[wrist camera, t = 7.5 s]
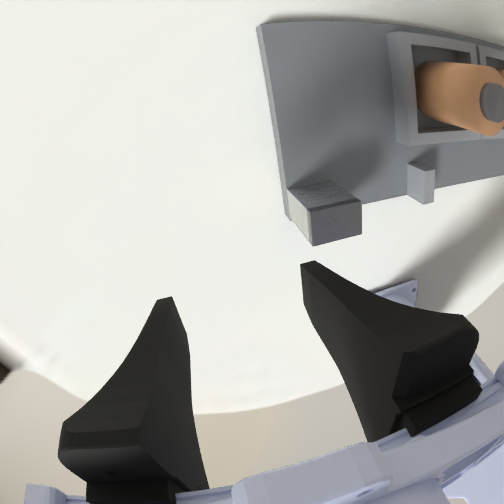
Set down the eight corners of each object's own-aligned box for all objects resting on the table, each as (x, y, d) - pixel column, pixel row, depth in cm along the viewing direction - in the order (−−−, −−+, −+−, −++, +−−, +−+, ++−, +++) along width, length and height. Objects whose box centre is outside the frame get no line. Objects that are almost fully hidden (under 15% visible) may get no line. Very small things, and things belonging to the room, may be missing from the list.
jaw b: (456, 115, 19) (516, 134, 14) (415, 123, 19) (478, 143, 14) (449, 60, 17) (512, 67, 12) (406, 62, 17) (472, 66, 12)
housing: (505, 169, 24) (527, 179, 21) (285, 213, 22) (300, 233, 19) (504, 49, 18) (529, 51, 15) (255, 27, 16) (269, 16, 13)
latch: (332, 208, 21) (361, 233, 17) (290, 217, 21) (312, 246, 17) (331, 179, 20) (361, 201, 16) (286, 188, 20) (309, 212, 16)
